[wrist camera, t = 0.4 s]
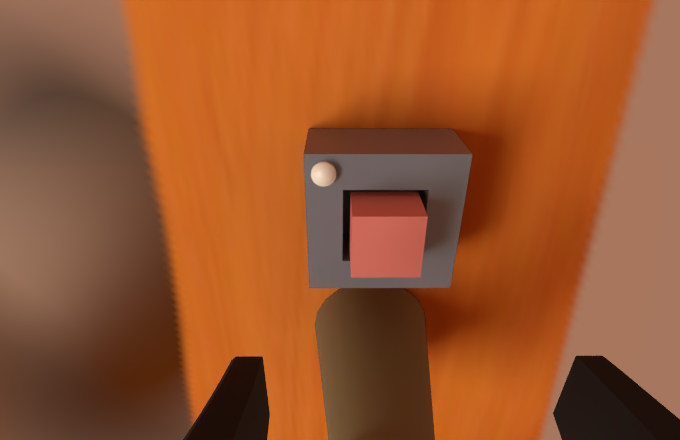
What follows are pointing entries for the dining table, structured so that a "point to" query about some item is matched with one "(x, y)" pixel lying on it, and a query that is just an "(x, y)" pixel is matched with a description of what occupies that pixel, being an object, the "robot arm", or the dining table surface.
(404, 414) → the cork
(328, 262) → the block
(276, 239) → the dining table surface
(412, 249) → the button
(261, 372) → the robot arm
